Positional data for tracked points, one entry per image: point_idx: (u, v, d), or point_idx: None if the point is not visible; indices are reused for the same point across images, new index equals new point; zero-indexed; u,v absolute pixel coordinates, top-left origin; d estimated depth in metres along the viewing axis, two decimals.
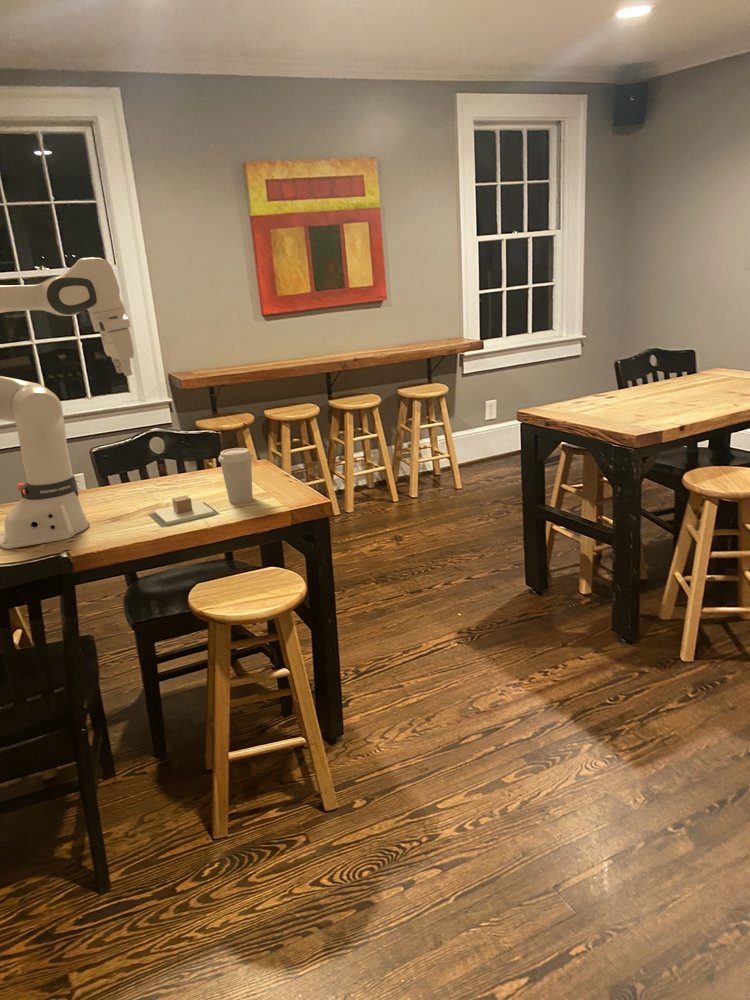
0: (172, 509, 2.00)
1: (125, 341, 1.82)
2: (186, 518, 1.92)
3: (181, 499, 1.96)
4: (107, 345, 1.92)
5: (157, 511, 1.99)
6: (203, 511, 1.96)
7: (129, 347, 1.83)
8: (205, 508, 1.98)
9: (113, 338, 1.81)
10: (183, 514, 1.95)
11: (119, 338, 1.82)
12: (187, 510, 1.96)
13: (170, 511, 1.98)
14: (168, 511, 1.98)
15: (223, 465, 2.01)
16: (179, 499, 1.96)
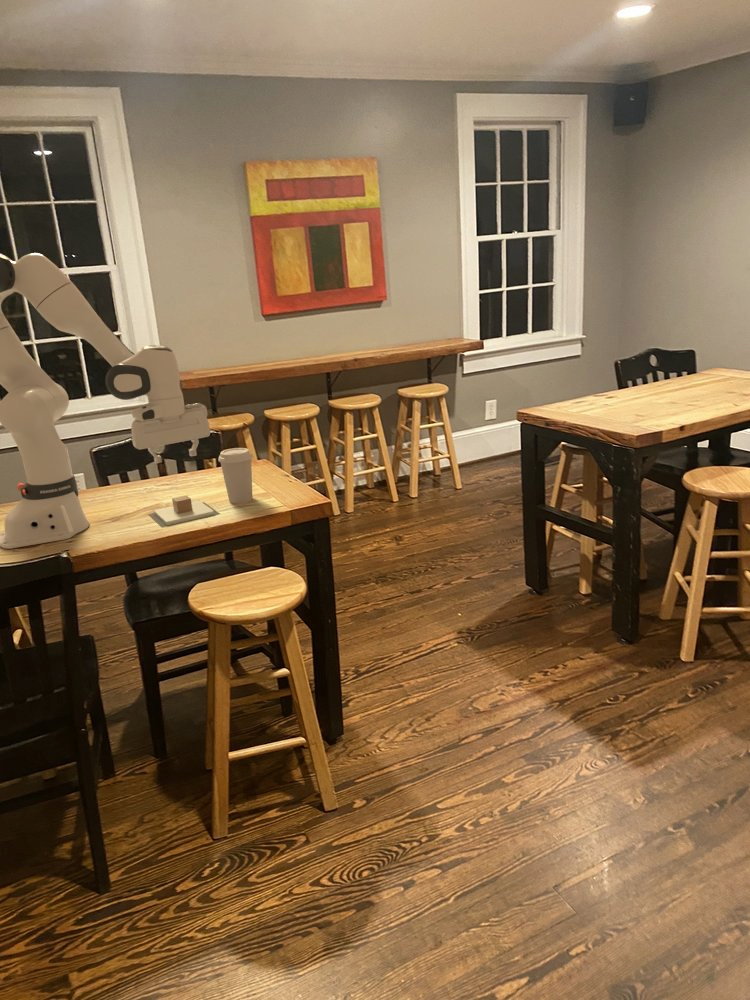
0: (172, 509, 2.00)
1: (133, 432, 1.86)
2: (186, 518, 1.92)
3: (181, 499, 1.96)
4: None
5: (157, 511, 1.99)
6: (203, 511, 1.96)
7: (134, 439, 1.86)
8: (205, 508, 1.98)
9: (131, 426, 1.88)
10: (183, 514, 1.95)
11: (132, 427, 1.87)
12: (187, 510, 1.96)
13: (170, 511, 1.98)
14: (168, 511, 1.98)
15: (223, 465, 2.01)
16: (179, 499, 1.96)
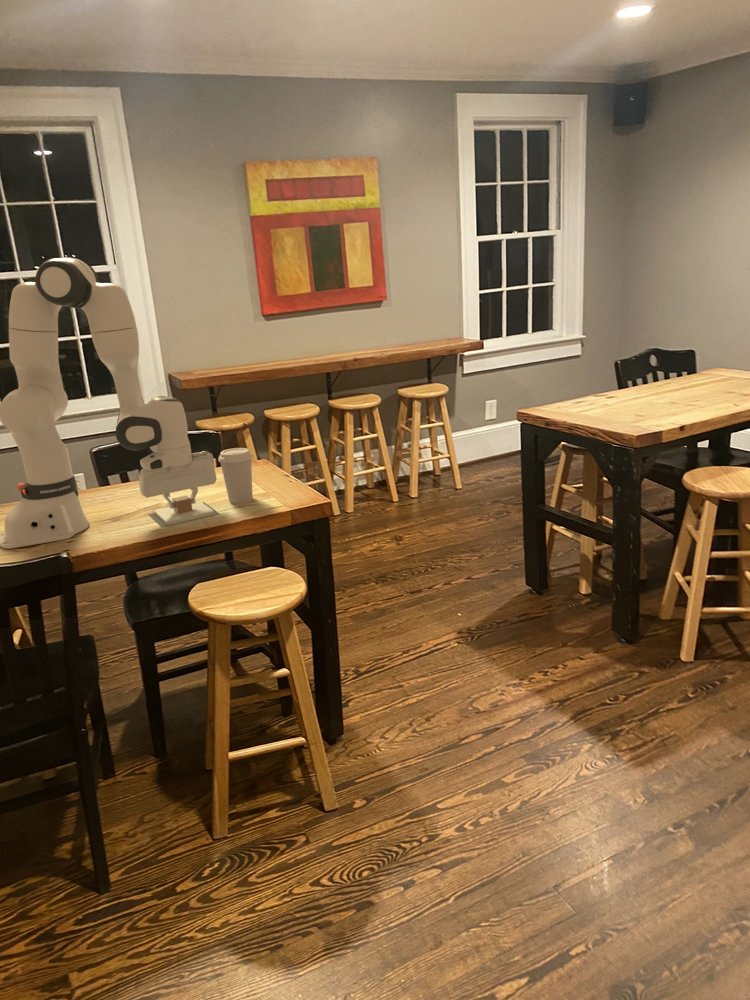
0: (172, 509, 2.00)
1: (141, 481, 1.90)
2: (186, 518, 1.92)
3: (181, 499, 1.96)
4: None
5: (157, 511, 1.99)
6: (203, 511, 1.96)
7: (142, 488, 1.90)
8: (205, 508, 1.98)
9: (139, 474, 1.92)
10: (183, 514, 1.95)
11: (140, 476, 1.90)
12: (187, 510, 1.96)
13: (170, 511, 1.98)
14: (168, 511, 1.98)
15: (223, 465, 2.01)
16: (179, 499, 1.96)
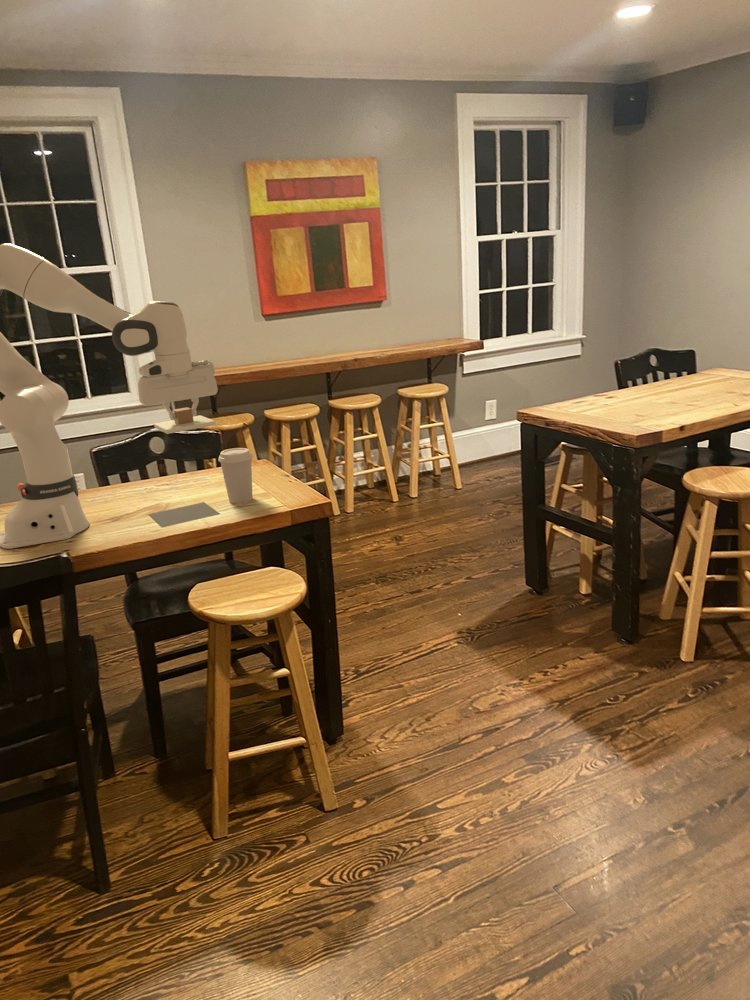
0: (173, 422, 1.94)
1: (140, 388, 1.84)
2: (187, 427, 1.87)
3: (182, 409, 1.91)
4: None
5: (157, 424, 1.94)
6: (204, 421, 1.91)
7: (141, 395, 1.84)
8: (207, 420, 1.93)
9: (138, 383, 1.86)
10: (184, 424, 1.89)
11: (139, 384, 1.85)
12: (188, 421, 1.91)
13: (171, 423, 1.93)
14: (168, 423, 1.93)
15: (223, 465, 2.01)
16: (179, 410, 1.91)
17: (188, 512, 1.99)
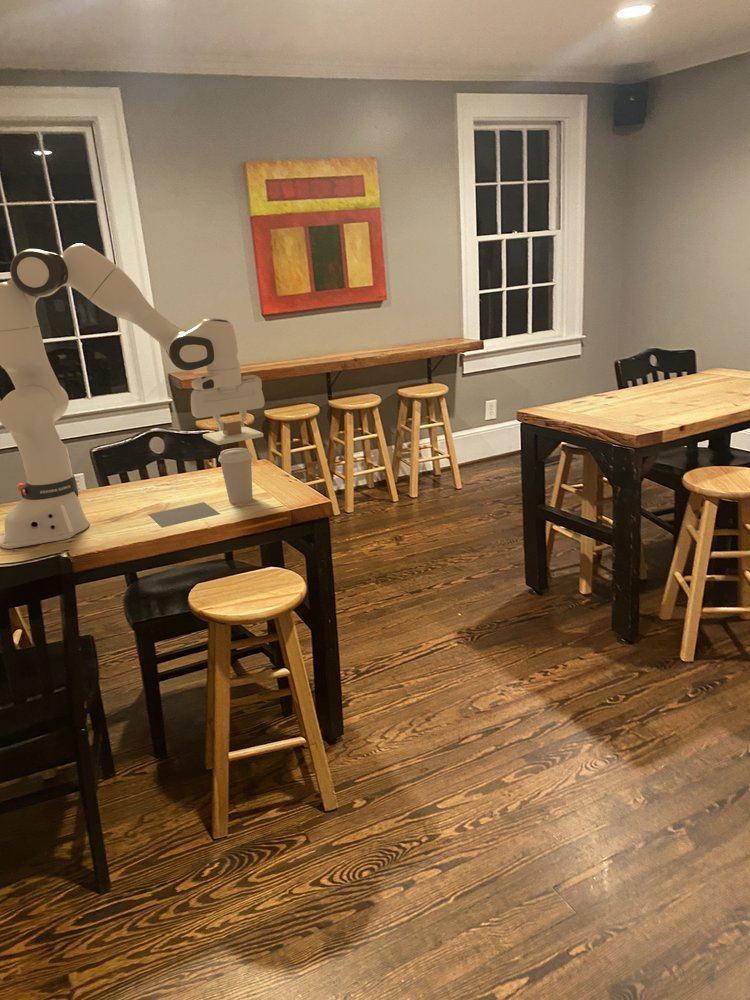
0: (221, 433, 2.03)
1: (193, 401, 1.93)
2: (237, 439, 1.95)
3: (231, 421, 1.99)
4: None
5: (206, 434, 2.02)
6: (252, 433, 2.00)
7: (194, 408, 1.93)
8: (254, 431, 2.01)
9: None
10: (233, 436, 1.98)
11: (192, 397, 1.94)
12: (237, 432, 2.00)
13: (220, 434, 2.01)
14: (217, 434, 2.02)
15: (223, 465, 2.01)
16: (228, 421, 1.99)
17: (188, 512, 1.99)
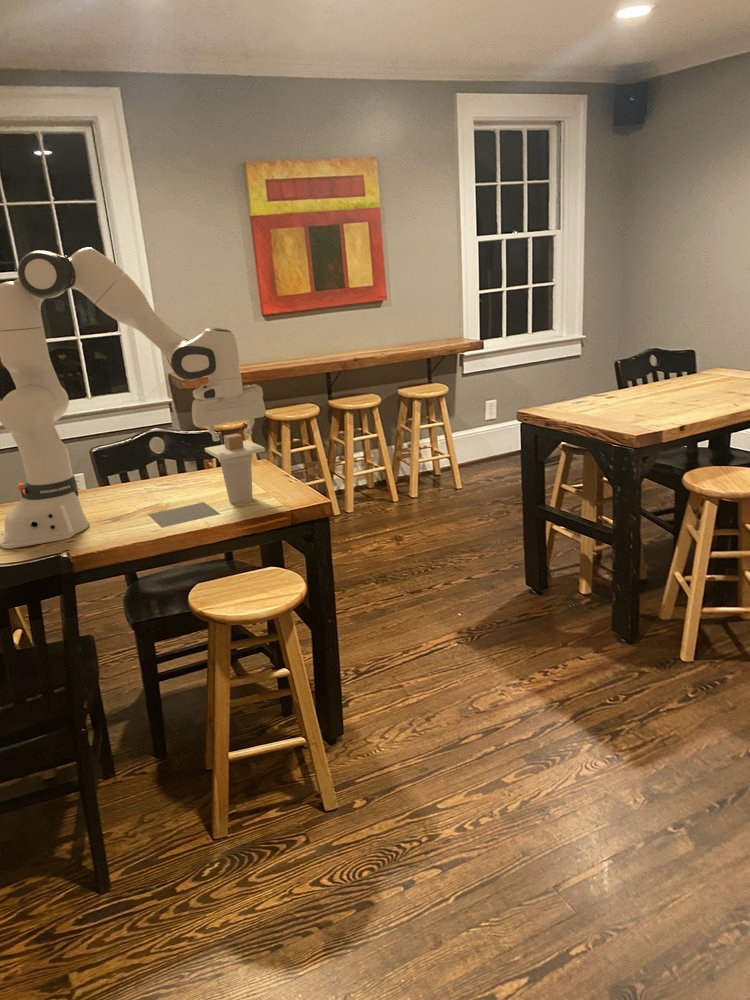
0: (223, 447, 2.04)
1: (194, 411, 1.94)
2: (238, 453, 1.96)
3: (233, 436, 2.00)
4: None
5: (208, 448, 2.03)
6: (254, 447, 2.01)
7: (195, 417, 1.94)
8: (256, 446, 2.02)
9: (192, 405, 1.96)
10: (235, 450, 1.99)
11: (193, 406, 1.95)
12: (238, 447, 2.01)
13: (222, 448, 2.02)
14: (219, 448, 2.03)
15: (223, 465, 2.01)
16: (230, 436, 2.01)
17: (188, 512, 1.99)
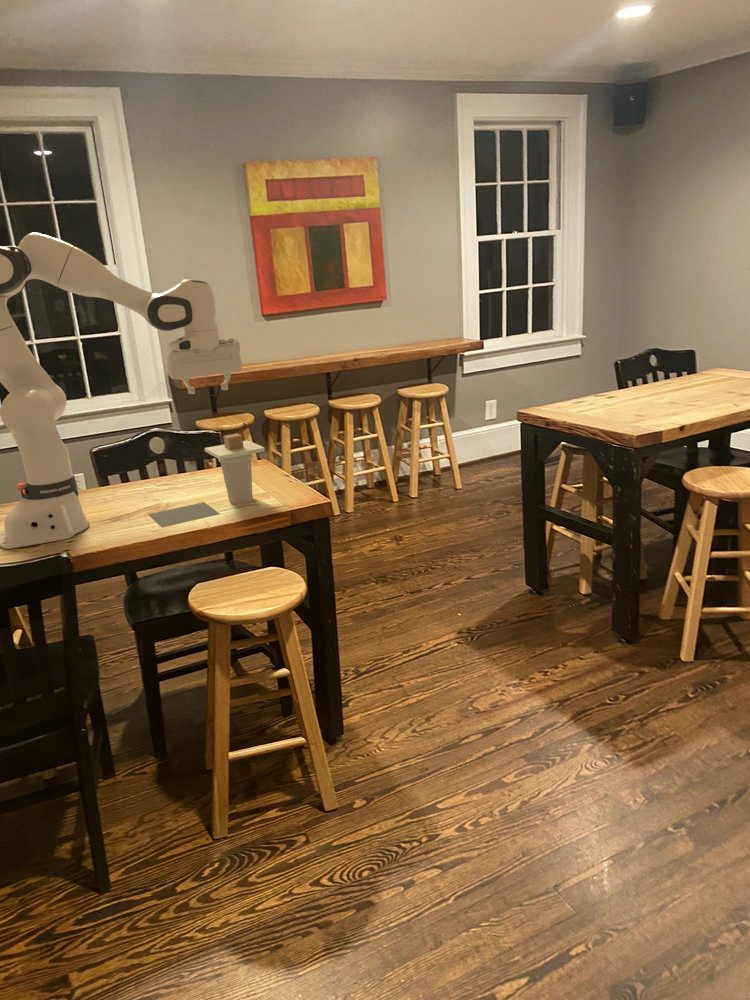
0: (223, 447, 2.04)
1: (170, 362, 1.94)
2: (238, 453, 1.97)
3: (232, 436, 2.00)
4: None
5: (208, 448, 2.03)
6: (254, 447, 2.01)
7: (170, 369, 1.94)
8: (255, 446, 2.02)
9: None
10: (235, 450, 1.99)
11: (168, 358, 1.95)
12: (238, 447, 2.01)
13: (222, 448, 2.02)
14: (219, 448, 2.03)
15: (223, 465, 2.01)
16: (230, 436, 2.01)
17: (188, 512, 1.99)
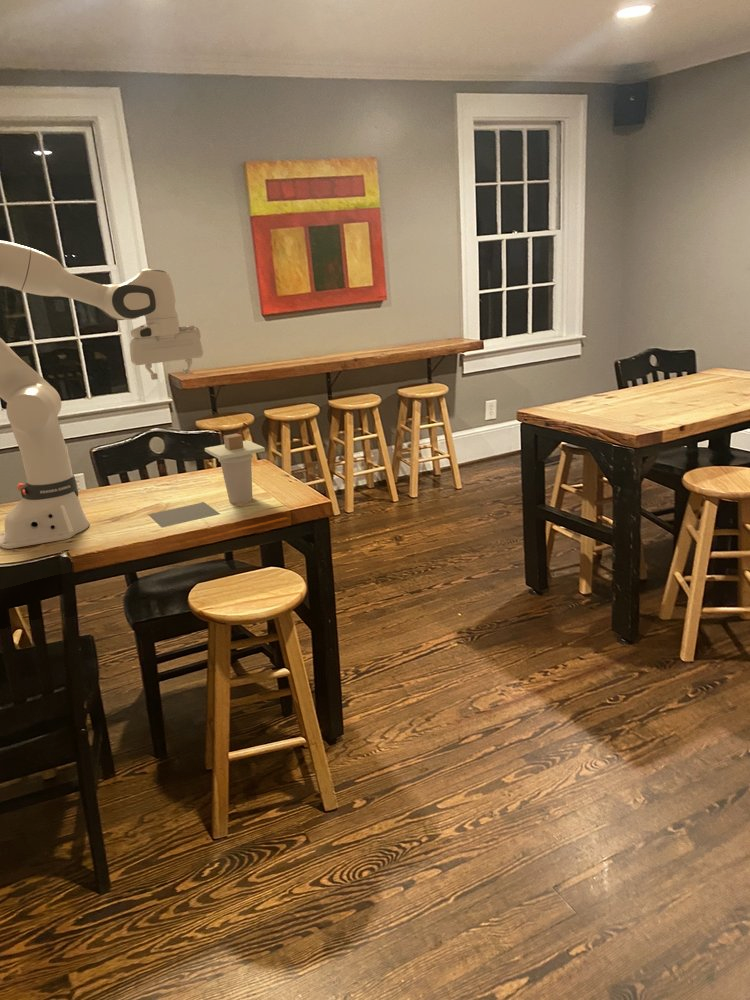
0: (223, 447, 2.04)
1: (132, 349, 2.02)
2: (238, 453, 1.97)
3: (232, 436, 2.00)
4: None
5: (208, 448, 2.03)
6: (254, 447, 2.01)
7: (132, 355, 2.02)
8: (255, 446, 2.02)
9: (130, 344, 2.04)
10: (235, 450, 1.99)
11: (131, 345, 2.03)
12: (238, 447, 2.01)
13: (222, 448, 2.02)
14: (219, 448, 2.03)
15: (223, 465, 2.01)
16: (230, 436, 2.01)
17: (188, 512, 1.99)
